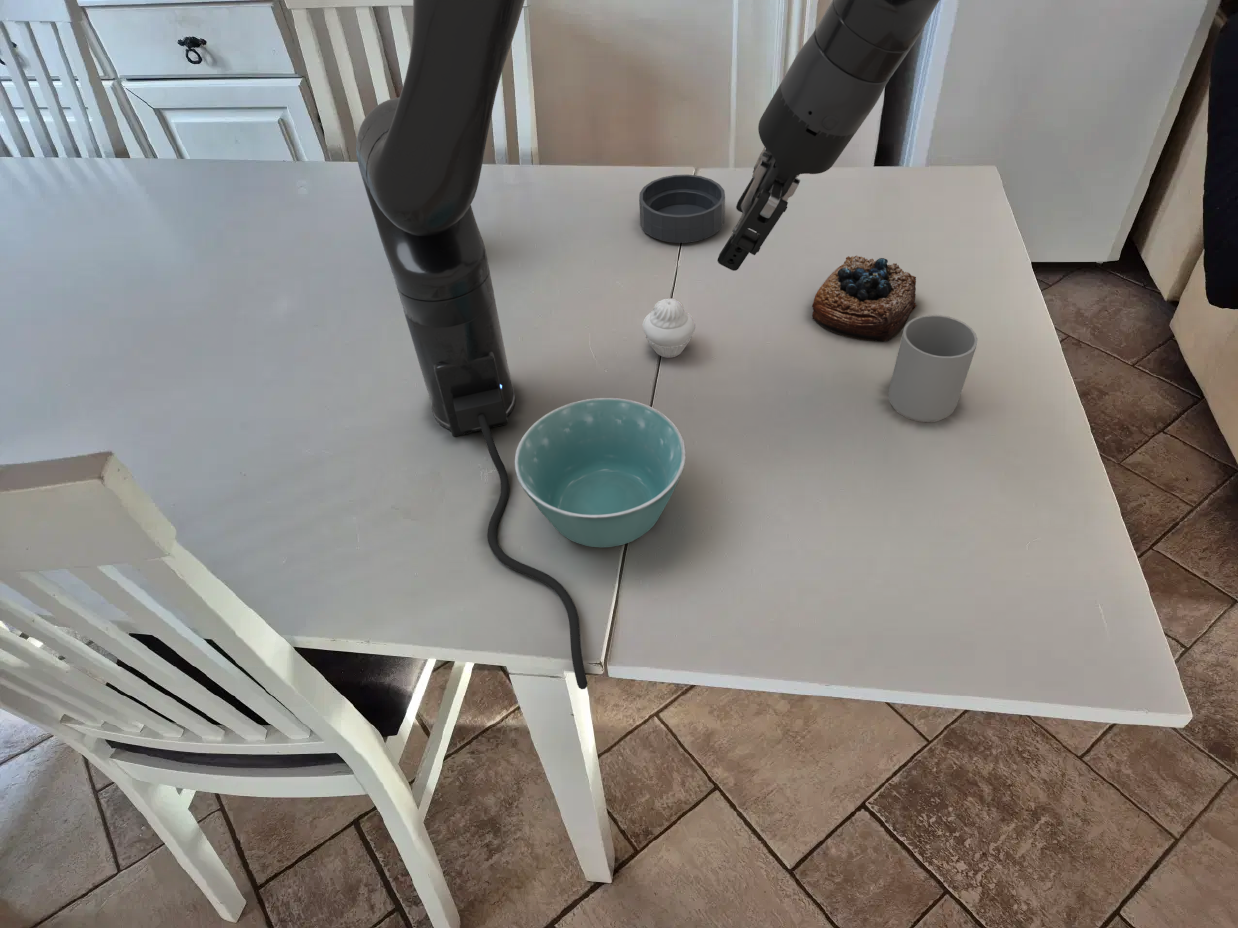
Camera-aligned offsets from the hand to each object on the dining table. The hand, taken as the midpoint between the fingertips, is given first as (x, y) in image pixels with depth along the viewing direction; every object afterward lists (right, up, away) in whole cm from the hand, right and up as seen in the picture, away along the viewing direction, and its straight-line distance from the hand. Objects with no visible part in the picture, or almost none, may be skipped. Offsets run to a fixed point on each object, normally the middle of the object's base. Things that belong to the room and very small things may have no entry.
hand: (735, 237), depth 80 cm
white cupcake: (-6, -9, +17) cm, 20 cm away
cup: (+22, -15, +9) cm, 28 cm away
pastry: (+19, -4, +20) cm, 28 cm away
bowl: (-13, -27, 0) cm, 30 cm away
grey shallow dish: (-2, +12, +37) cm, 39 cm away
